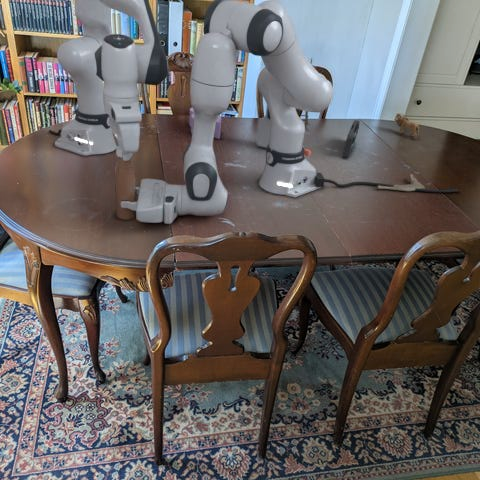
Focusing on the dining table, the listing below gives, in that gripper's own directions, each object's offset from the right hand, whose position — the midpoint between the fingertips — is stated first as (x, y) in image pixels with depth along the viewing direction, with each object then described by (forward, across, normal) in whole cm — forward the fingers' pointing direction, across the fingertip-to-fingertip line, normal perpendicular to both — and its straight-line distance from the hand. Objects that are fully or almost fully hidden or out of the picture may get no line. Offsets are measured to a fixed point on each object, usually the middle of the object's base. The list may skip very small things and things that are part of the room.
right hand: (122, 198), depth 133 cm
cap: (-1, 0, -15) cm, 15 cm away
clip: (-26, -73, +5) cm, 78 cm away
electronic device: (-53, -58, +5) cm, 79 cm away
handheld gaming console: (-87, -59, +5) cm, 106 cm away
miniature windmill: (-71, -88, +5) cm, 113 cm away
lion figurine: (-121, -82, +5) cm, 147 cm away
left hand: (-1, 0, -13) cm, 13 cm away
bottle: (-1, 0, +6) cm, 6 cm away
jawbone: (-95, -27, +5) cm, 99 cm away
